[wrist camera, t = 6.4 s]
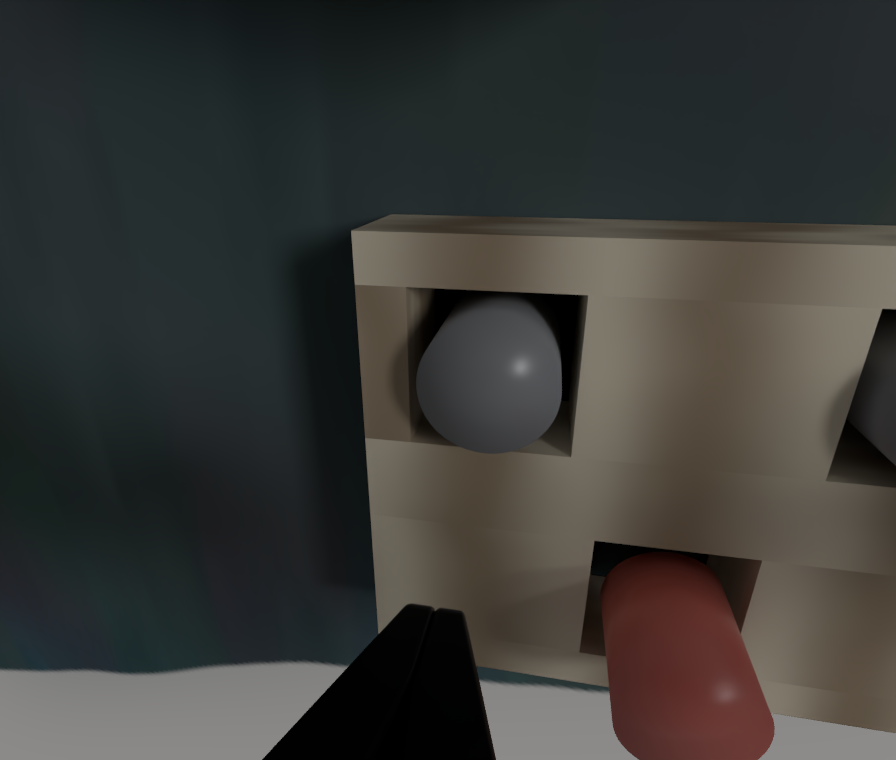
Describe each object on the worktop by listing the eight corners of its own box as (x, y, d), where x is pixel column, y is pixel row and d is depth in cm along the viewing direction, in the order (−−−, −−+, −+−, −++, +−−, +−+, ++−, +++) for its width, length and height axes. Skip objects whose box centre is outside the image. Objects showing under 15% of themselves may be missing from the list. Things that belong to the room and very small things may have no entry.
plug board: (1080, 229, 15) (1244, 255, 12) (893, 643, 22) (961, 743, 18) (391, 214, 18) (351, 230, 15) (405, 576, 25) (379, 650, 21)
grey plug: (565, 283, 18) (568, 324, 14) (555, 394, 19) (555, 460, 15) (445, 278, 18) (414, 315, 14) (445, 385, 20) (417, 446, 16)
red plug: (736, 560, 17) (792, 687, 13) (712, 650, 19) (755, 788, 15) (607, 544, 18) (622, 660, 14) (594, 633, 20) (604, 760, 15)
